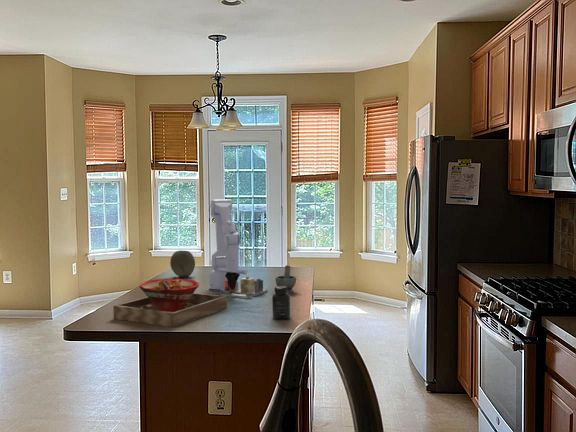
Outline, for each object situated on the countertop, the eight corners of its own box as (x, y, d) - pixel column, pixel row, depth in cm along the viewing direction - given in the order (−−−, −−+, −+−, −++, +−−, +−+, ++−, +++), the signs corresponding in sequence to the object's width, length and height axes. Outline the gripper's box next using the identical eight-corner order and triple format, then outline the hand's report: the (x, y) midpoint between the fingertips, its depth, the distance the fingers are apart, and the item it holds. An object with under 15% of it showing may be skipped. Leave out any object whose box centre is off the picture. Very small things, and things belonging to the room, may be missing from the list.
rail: (220, 295, 248) (219, 290, 248) (223, 294, 251) (223, 289, 251) (248, 298, 241) (247, 293, 241) (251, 297, 244) (251, 292, 244)
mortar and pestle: (293, 293, 251) (293, 268, 250) (274, 293, 253) (273, 268, 252) (297, 289, 262) (297, 264, 262) (279, 288, 264) (278, 264, 263)
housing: (240, 290, 254) (240, 277, 254) (245, 288, 258) (245, 275, 258) (249, 291, 252) (249, 278, 251) (254, 289, 256) (254, 276, 255)
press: (234, 294, 251) (233, 279, 251) (247, 290, 262) (247, 275, 261) (254, 296, 246) (254, 281, 246) (267, 291, 257) (267, 277, 256)
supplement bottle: (271, 316, 208) (271, 285, 208) (289, 315, 209) (289, 284, 208) (273, 320, 202) (272, 288, 201) (291, 319, 202) (290, 288, 202)
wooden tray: (113, 318, 207) (113, 305, 207) (171, 301, 236) (170, 290, 236) (173, 327, 193) (173, 313, 193) (226, 308, 223) (226, 296, 222)
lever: (222, 293, 248) (222, 280, 247) (225, 292, 250) (225, 279, 250) (229, 293, 246) (228, 281, 246) (232, 292, 248) (232, 280, 248)
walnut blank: (225, 293, 255) (224, 282, 255) (228, 291, 259) (228, 281, 259) (235, 293, 254) (235, 283, 254) (238, 291, 258) (238, 281, 258)
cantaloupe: (201, 276, 304) (200, 249, 303) (183, 280, 292) (182, 252, 291) (182, 274, 312) (181, 248, 311) (164, 277, 300) (164, 251, 299)
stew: (187, 323, 199) (186, 280, 198) (124, 322, 201) (123, 279, 200) (206, 306, 227) (205, 268, 226) (151, 306, 229) (150, 268, 228)
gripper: (214, 259, 246) (214, 289, 246) (240, 261, 239) (241, 291, 240) (222, 257, 252) (223, 286, 253) (249, 259, 245) (249, 289, 246)
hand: (232, 289), depth 247 cm, fingers closed
